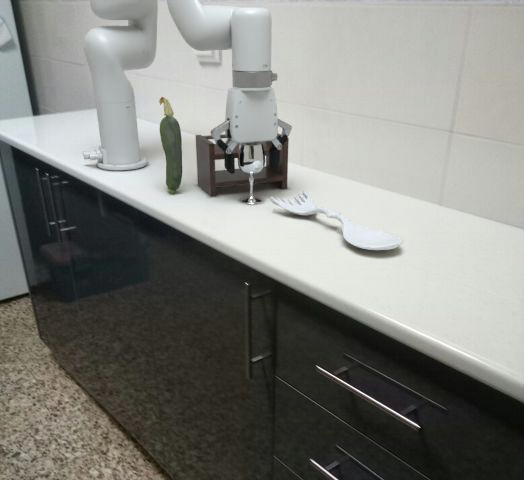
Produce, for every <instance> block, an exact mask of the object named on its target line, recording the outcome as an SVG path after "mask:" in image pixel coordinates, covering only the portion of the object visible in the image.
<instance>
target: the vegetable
mask: <svg viewBox="0 0 524 480" xmlns="http://www.w3.org/2000/svg"><path fill="white" fill-rule="evenodd" d="M158 103H159V105H160V106H161V105H162V104H163V112H164V114H163V115H164V117H163V118H162V119H161V121H160V123H159V136H160V141H161V146H162V149H163V153H164V157H165V184H166V187H167V188H166V189H167V190H168V192H169V193H170V194H175V193H177V191H178V190H179V189H180V187H181V184H182V181H183V180H182V179H183V145H182V142H183V141H182V132H181V126H180V123H179V121H178V120H177V119H176V118H175V117H174V114H175V113H174V109H173V107H172V105H171V103H170V101H169V100H168V99H167V98H166V97H165V96H161V97H160V98H159V101H158Z"/></svg>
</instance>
